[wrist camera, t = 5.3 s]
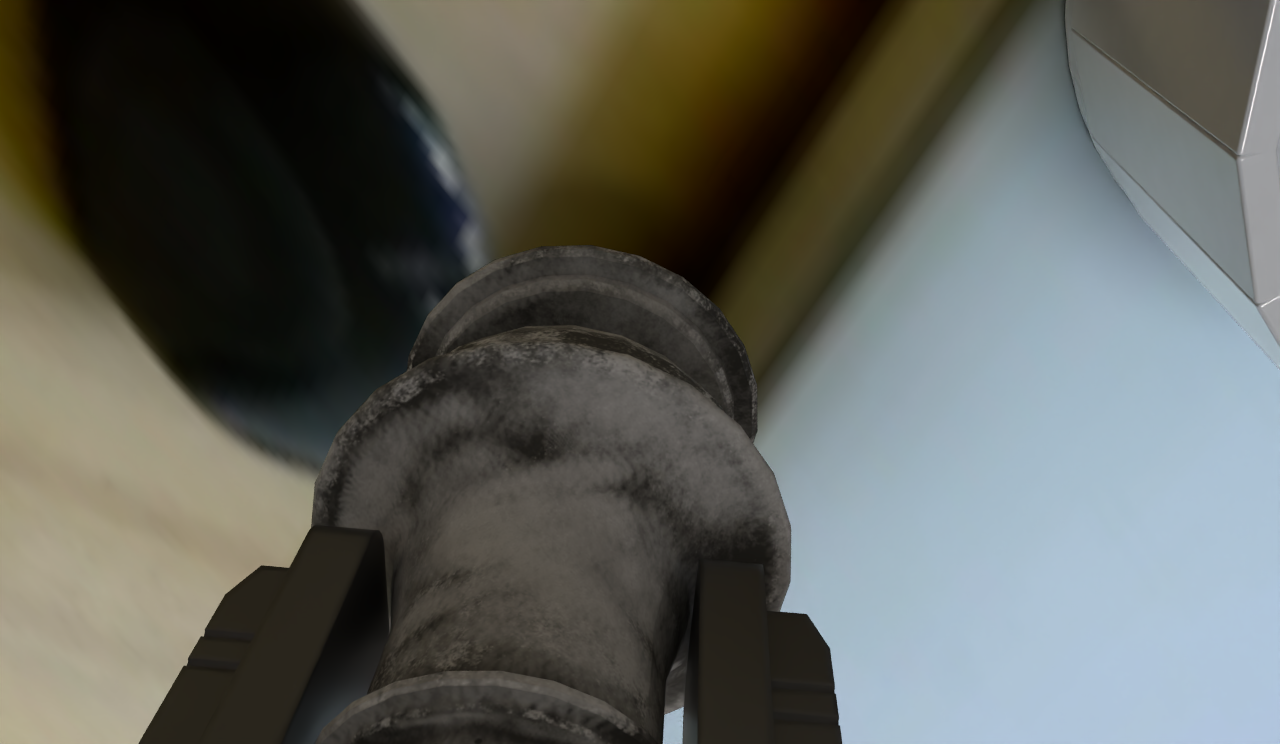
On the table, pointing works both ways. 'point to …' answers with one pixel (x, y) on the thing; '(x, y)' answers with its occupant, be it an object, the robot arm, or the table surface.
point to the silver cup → (1193, 135)
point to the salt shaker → (552, 503)
